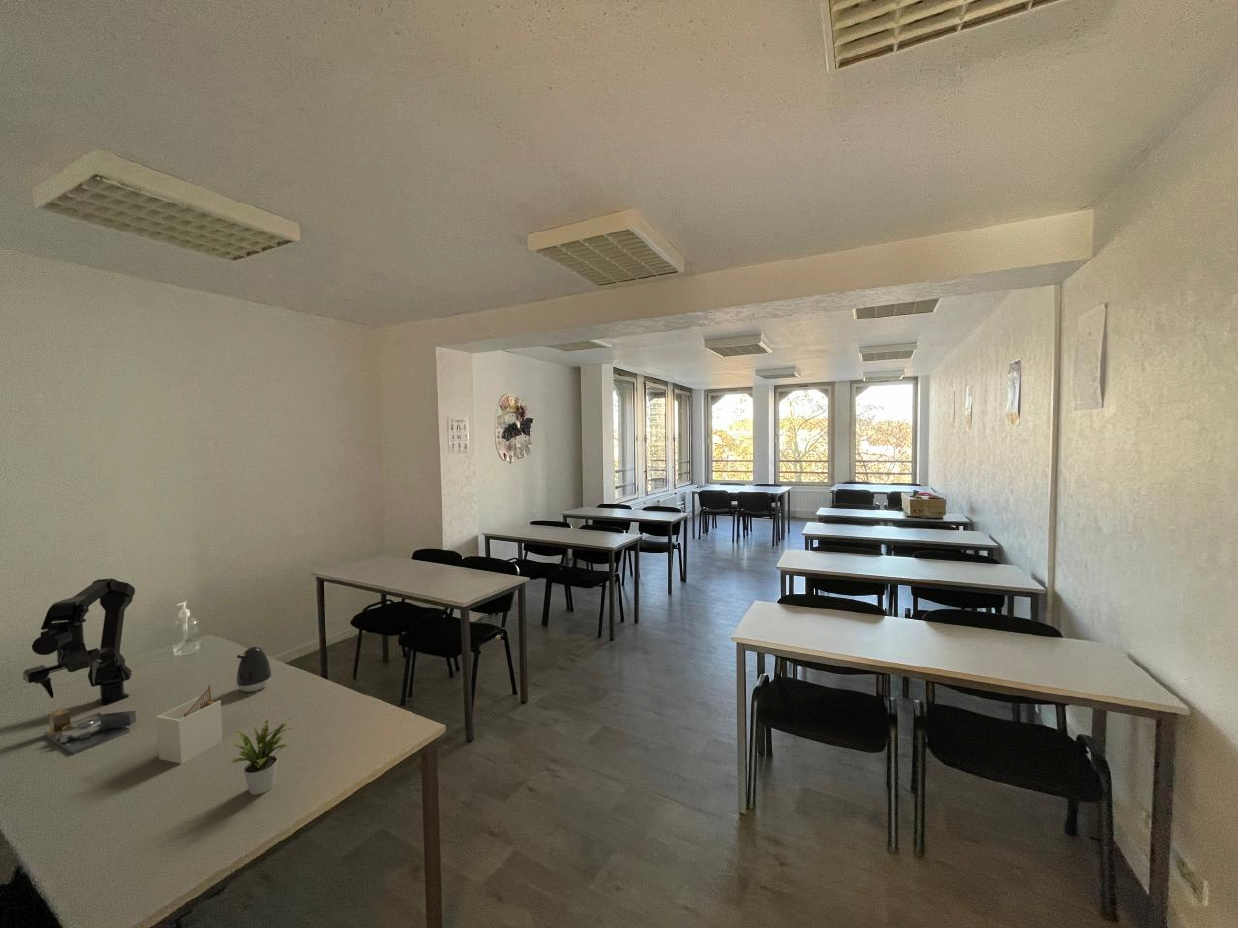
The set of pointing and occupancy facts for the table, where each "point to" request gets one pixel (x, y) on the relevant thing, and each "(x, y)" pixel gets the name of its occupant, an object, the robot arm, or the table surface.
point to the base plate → (93, 740)
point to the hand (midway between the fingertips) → (73, 690)
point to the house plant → (261, 759)
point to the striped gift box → (59, 720)
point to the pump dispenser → (253, 670)
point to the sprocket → (95, 725)
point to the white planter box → (189, 729)
